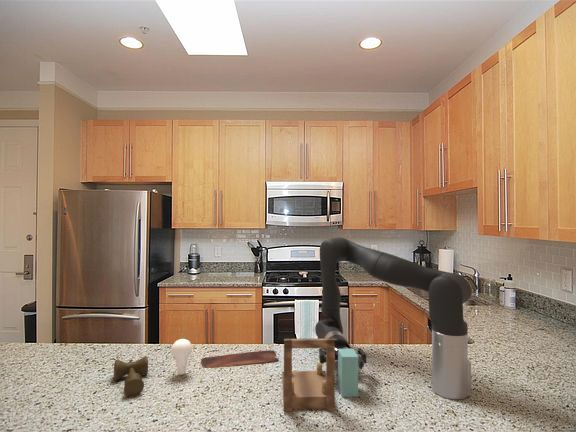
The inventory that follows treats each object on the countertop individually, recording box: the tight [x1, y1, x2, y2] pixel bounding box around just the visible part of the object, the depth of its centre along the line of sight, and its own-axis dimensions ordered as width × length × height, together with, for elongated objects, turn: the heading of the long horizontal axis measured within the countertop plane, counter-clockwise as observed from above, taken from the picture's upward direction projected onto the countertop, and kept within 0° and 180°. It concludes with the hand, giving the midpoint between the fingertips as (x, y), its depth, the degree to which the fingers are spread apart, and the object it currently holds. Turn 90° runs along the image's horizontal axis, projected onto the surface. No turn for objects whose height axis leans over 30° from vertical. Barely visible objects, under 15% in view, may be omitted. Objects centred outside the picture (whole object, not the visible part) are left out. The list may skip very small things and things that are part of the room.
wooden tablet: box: [200, 349, 280, 369], centre depth 119 cm, size 26×2×10 cm
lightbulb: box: [171, 338, 193, 376], centre depth 107 cm, size 6×6×11 cm
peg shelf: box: [281, 338, 336, 413], centre depth 95 cm, size 13×16×18 cm
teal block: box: [337, 348, 359, 398], centre depth 97 cm, size 4×6×11 cm
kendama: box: [113, 355, 149, 397], centre depth 102 cm, size 6×10×20 cm
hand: (346, 365), depth 98 cm, fingers open, 8 cm apart
